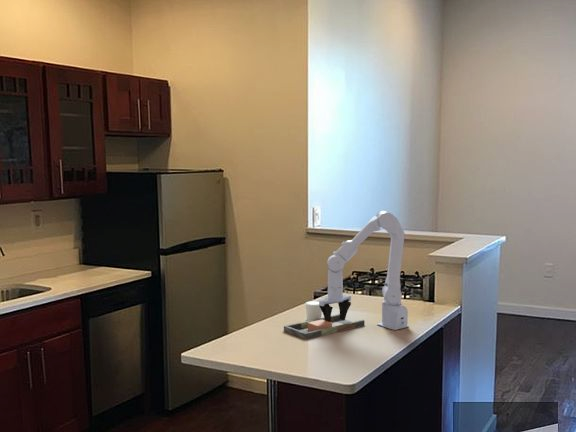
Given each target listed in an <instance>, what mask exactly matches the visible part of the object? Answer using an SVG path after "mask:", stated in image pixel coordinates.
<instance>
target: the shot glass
mask: <svg viewBox="0 0 576 432" xmlns="http://www.w3.org/2000/svg"><path fill="white" fill-rule="evenodd" d="M305 311H306V312H305V313H306V321H310V320H314V319H319V318H322V314H323V312H322V310H321V308H320V307H319V300H308V301H305Z"/></svg>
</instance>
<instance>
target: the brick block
mask: <svg viewBox="0 0 576 432" xmlns="http://www.w3.org/2000/svg"><path fill="white" fill-rule="evenodd" d="M329 327H333V322H328V321H325V320H317V321H313V322H308V327H307V331H309V332H312V331H316V330H320V329H325V328H329Z"/></svg>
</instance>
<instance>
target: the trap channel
mask: <svg viewBox="0 0 576 432" xmlns="http://www.w3.org/2000/svg"><path fill="white" fill-rule="evenodd" d="M317 320H325V318H324V317H321V318H319V319H314V320H310V321H308V320H306V321H301V322H297V323H291V324H286V325H284V326H283V332H284V331H285V333H287V334H290V335H293V336H296V337H298V338H301V339H304V340H310V339H312V338H316V337H321V336H325V335H329V334H333V333H338V332H343V331H346V330H351V329H355V328H356V329H357V328H360V327H363V326H365V323H366V322H365V320H364V319H362V320H355V321H351V320H348V319H345V320H344V321H343V320H340V313H338V314H334V315H331V323H333V322H336V323H340V324H339V325H335V326H332V327H329V328H325V329H320V330H316V331H310V330H308V329H307V330H306V329H304V328H308V322H313V321H317Z"/></svg>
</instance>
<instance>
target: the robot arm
mask: <svg viewBox="0 0 576 432" xmlns="http://www.w3.org/2000/svg"><path fill="white" fill-rule="evenodd" d="M381 228H382V229H383V230H385V231H386V232H387V233H388V234H389V235H390V245H389V252H388V253H389V254H388V265H387V272H386V278H385V283H384V286H382V289H381V294H382V296H383V299H382V301H381V322H378V323H376V325H377V326H380V327H383V328H387V329H391V330H393V331H396V330H399V329H404V328H408V327H410V325H409V324H408V319H409V318H408V308H407V306H405V305H403V304H402V301H401V300H402V298H403V294H402V291H401V280H400V279H401V270H402V261H403V253H404V252H403V251H404V243H405V242H404V241H405V231H404V229H403V226H402V225H401V223H400V221H399V219H398V218H397V217H396V216H395V215H394V214H393V213H392V212H389V211H388V210H385V209H384V210H380V211H378V212H377V213H376V215H374V216H373V217H371V219H370V220H368V222H366V224H365V225H364V226H363V227H362V228H361V229H360V231H359V232H357V234H356V235H355V236H354V237H353V238H352V239H350V240H346V241H342V243H341V246H340V247H339V248H338V249H337V250H336V251H333V252H332V255H330V256H328V259H327V261H326V264H327V266H328V270H327V296H326V298H322V299H319V300H318V301H319V307H320V308H321V310H322V314H323V318H325V321H328V322H331V316H332V311H333V306H331V305H333V304H338V308H339V314H340V320H343V321H344V320H346V318H347V314H348V311H349V309H350V307H351V305H352V295H349V294H345V295H344V293H343V289H344V287H343V286H344V285H343V283H344V281H343V280H344V279H343V277H344V275H343V269H344V267H345V264H346V263H348V261H349V260H350V259H352V258H353V257H354V255H356V253H358V251H359V250H358V248H359V247H358V246H360V244H361V243H363V242H364V241H365V240H366V239H367V238H368V237H369V236H370V235H371V234H372V233H373V232H378V231H382V229H381ZM331 323H332V322H331Z"/></svg>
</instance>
